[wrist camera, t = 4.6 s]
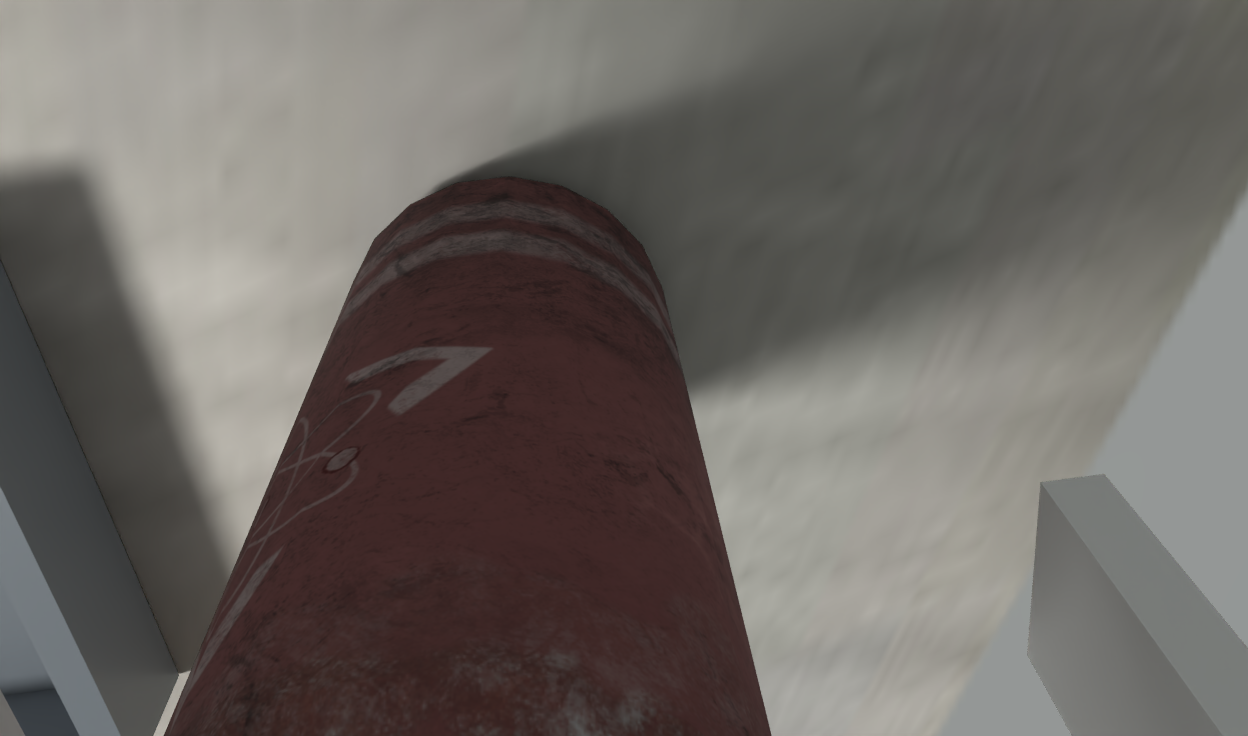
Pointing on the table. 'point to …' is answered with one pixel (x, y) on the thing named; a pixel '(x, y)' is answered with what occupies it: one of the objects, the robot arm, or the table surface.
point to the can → (487, 503)
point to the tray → (65, 570)
